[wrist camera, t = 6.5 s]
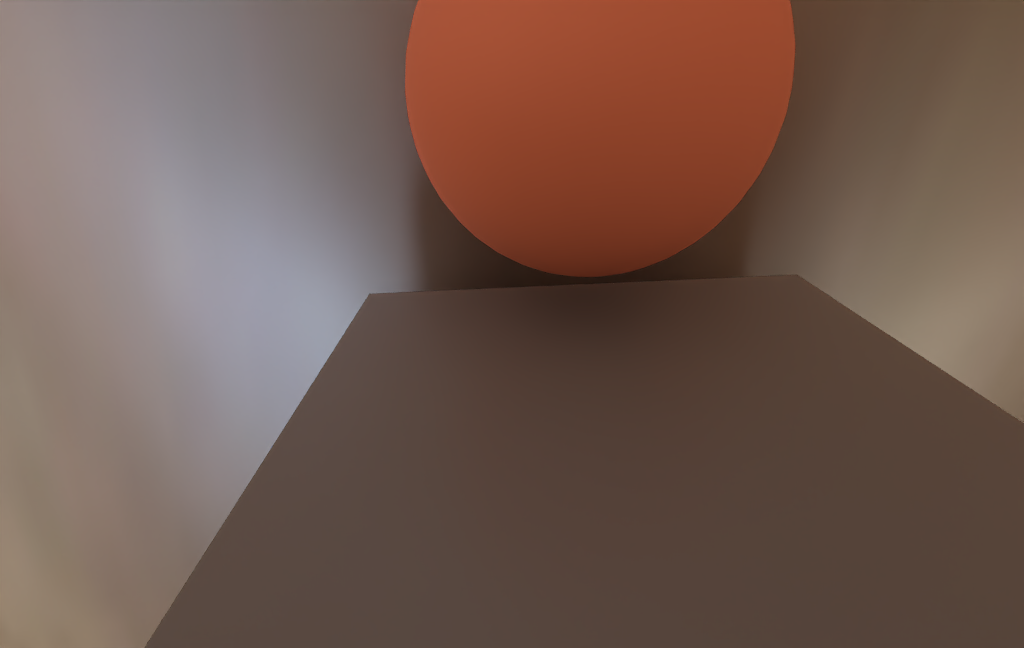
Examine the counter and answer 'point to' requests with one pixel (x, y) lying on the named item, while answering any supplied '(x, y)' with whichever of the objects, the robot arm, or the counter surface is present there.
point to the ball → (596, 120)
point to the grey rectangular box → (622, 483)
